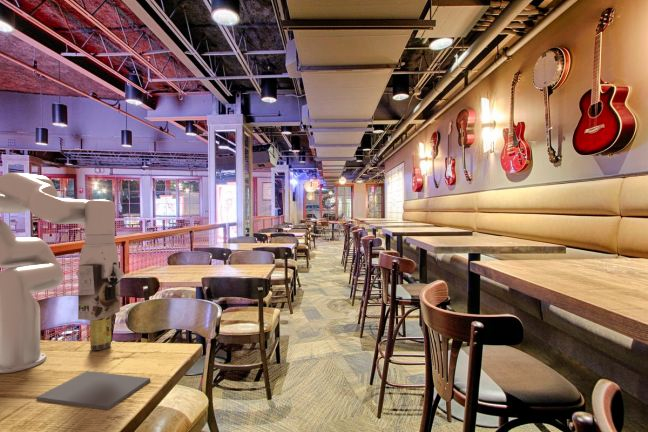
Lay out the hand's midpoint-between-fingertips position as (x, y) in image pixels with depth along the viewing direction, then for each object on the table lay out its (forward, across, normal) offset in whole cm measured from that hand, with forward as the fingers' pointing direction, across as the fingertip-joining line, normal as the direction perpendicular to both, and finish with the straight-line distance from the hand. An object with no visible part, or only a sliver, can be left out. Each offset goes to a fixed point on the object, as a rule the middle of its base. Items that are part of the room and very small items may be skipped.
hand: (100, 298), depth 97 cm
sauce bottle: (+23, -15, +16) cm, 32 cm away
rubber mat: (+22, +8, -9) cm, 25 cm away
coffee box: (+5, 0, 0) cm, 5 cm away
